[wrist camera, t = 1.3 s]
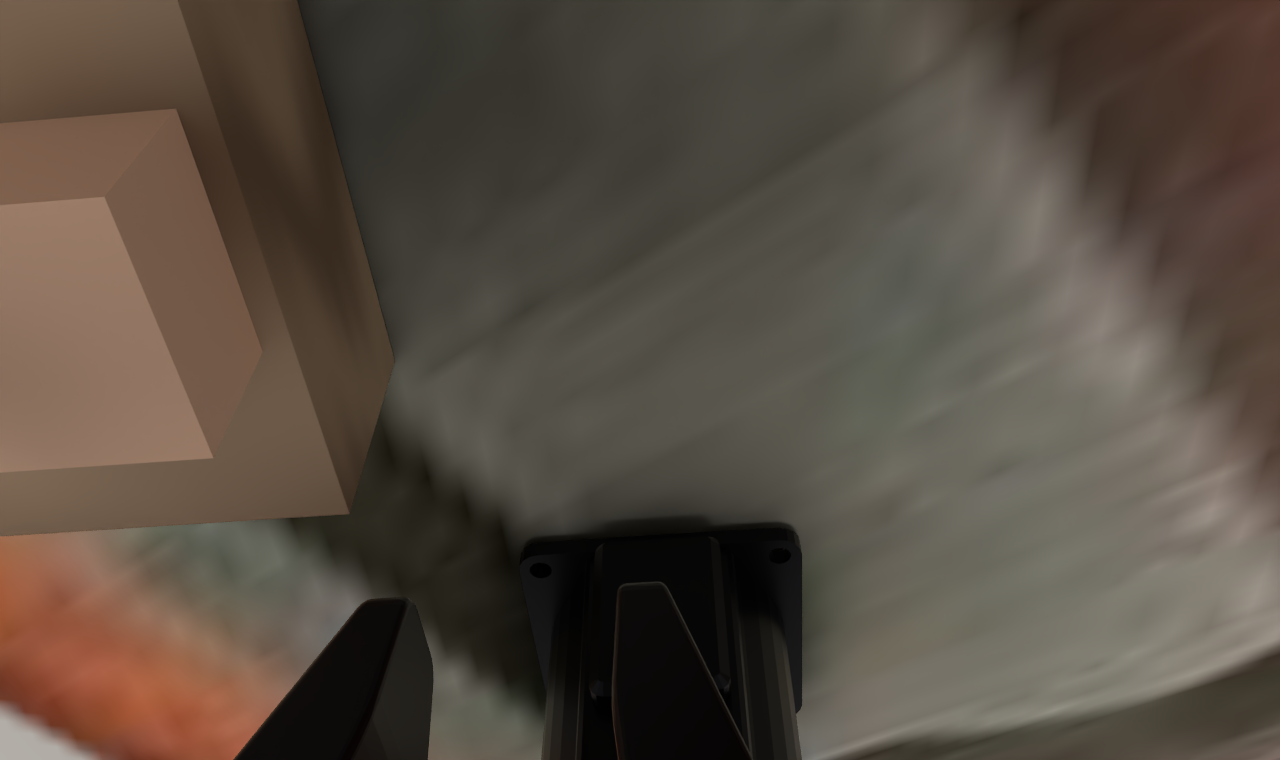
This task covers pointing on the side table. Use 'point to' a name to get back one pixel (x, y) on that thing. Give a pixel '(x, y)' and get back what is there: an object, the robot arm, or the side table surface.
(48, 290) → the tile
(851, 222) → the side table surface
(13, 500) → the stepped beige slab
